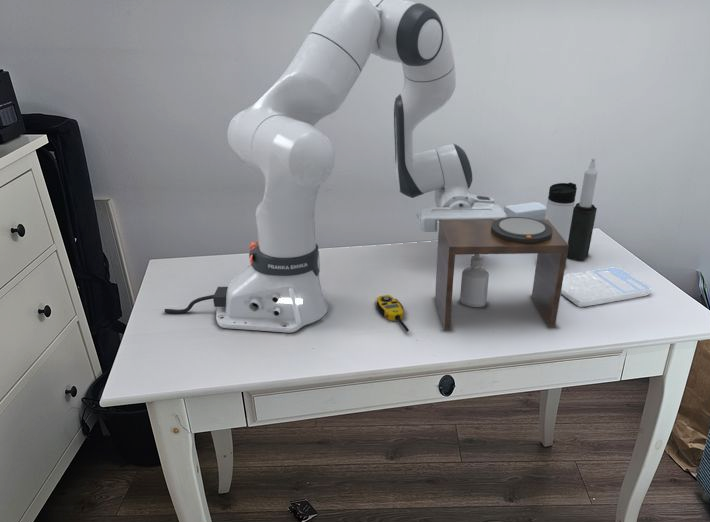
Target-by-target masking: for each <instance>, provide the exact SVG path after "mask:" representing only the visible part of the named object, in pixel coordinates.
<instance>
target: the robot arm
mask: <svg viewBox="0 0 710 522" xmlns="http://www.w3.org/2000/svg"><path fill="white" fill-rule="evenodd" d="M371 54H372V55H374V56H377V57H379V58H380V59H383V60H384V61H385V60H386V61H389V62H393V63H400V64H401V68H402V72H403V86H402V88H401V92H400V94H398V95H397V97H395V99H394V102H393V103H394V104H393V133H394V170H393V171H394V174H393V175H394V182H395V185H396V187H397V189H398V191H399V193H400V194H403V195H404V196H406V197H409V198H411V199H414V198H418V197H419V196H422V195H424V194H427V193H430V192H434V201H435V205H436V206H429V207H423V208H422V209H421V210H420V211H416V217H417V219H419V220H420V221H419V222H420V223H419V228H420V231H422V232H425V233H433V232H434V233H435V232H437V233H438V232H439V220H498V219H501V218H507V215H506V213H505V212H504V208H502V207H501V206H500V205H499V204H498V203H496V200H495V198H493V197H489V196H482V195H476V194H473V193H470V192H469V190H470V188H471V186H472V183H473V171H472V166H471V163H470V160H469V157H468V155H467V154H466V151H465V150H464V149H463V148H462V147H461V146H460V145H457V144H456V143H451V144H450V143H449V144H446V145H442V146H439V147H435V148H432V149H428V150H424V151H420V152H417V153H414V149H413V146H414V145H413V144H414V143H413V134H414V131H415V129H416V127H417V126H419V124H421V122H423V121H425V119H427V118H428V117H429V116H431V115H432V114H435V113H436V112H437V111H439V110H440V109H443V107H444V106H445V105H446V104H447V103H448V102H449V100H450V99H451V98H452V96H453V94H454V92H455V90H456V85H457V75H456V73H457V72H456V65H455V57H454V51H453V46H452V43H451V39H450V36H449V32H448V30H447V26H446V24H445V21H444V20H443V18H442V17H441V15H440V14H439V13H437V12H436V11H435V10H434V9H432V7H429V6H428V5H427V4H424V3H421V2H415V1H412V0H333V1H332V2H331V3H330V4H329V5H328V6H327V7H326V9H325V10H324V11H323V12H322V14H321V15H320V16H319V17H318V19H317V20H316V21H315V23H314V24H313V26H312V28H311V29H310V31H309V32H308V34H307V36H306V37H305V39H304V41H303V43H302V44H301V46H300V47H299V49H298V50H297V52H296V54H295V55H294V57H293V59H292V60H291V62H290V63H289V65H288V67H286V70H285V71H284V72H283V73H282V75H280V77H279V78H278V79H277V80H276V82H274V83H273V84H272V86H270V88H268V90H266V92H265V93H263V94H262V96H261V97H259V99H258V100H256V102H254V103H253V104H252V105H250V106H249V107H247V108H245V109H243V110H242V111H239V112H238V113H236V114H235V115H234V116H233V118H231V120H230V122H229V125H228V128H227V132H226V133H227V135H226V136H227V143H228V146H229V148H230V149H231V152H232V153H234V154H235V156H236V157H237V158H238V159H239V160H240V161H241V162H242V163H243V164H244V165H246V166H247V167H249V168H251V169H253V170H256V171H257V172H259V173H262V175H263V177H264V191H263V197H262V201H260V202H259V203H258V204H257V206H256V208H255V213H254V216H255V223H256V234H257V241H251V243H250V244H249V247H248V250H249V253H248V257H249V265H248V266H247V267H245V268H244V269H243V270H241V271H240V272H239V273H237V274H236V275H234V277H233V278H232V279H231V281H230V282H229V284H228V286H217V288H216V290H215V292H214V293H213V294H209V295H205V296H201V297H198V298H195V299H193V300H192V301H191V302H190V303H189V304H188V305H187V306H186V308H182V309H173V308H164V313H167V314H185V313H187V312H189V311H191V309H192V308H193V307H194V305H196V304H198V303H200V302H203V301H207V300H213V304H214V305H213V307H214V308H216V312H215V320H216V323H217V325H218V326H219V327H220V328H223V329H231V330H246V331H247V330H248V331H262V332H276V333H290V334H291V333H295V332H297V331H298V330H301V328H303V327H305V326H307V325H311V324H313V323H316V322H318V321H319V320H321V319H322V318H323V317H325V315H326V314H327V312H328V309H329V307H328V304H327V301H326V299H325V297H324V292H323V288H322V284H321V283H322V282H321V279H320V278H321V277H320V272H321V262H320V261H321V259H320V250H319V245H318V244H317V239H316V238H317V237H316V218H315V217H316V215H315V214H316V212H315V210H316V203H317V198H318V194H319V191H320V189H321V188H320V187H321V186H322V184H324V183H325V182H327V180H328V179H329V178H330V175H331V174H332V173H333V170H334V167H335V163H336V155H335V148H334V146H333V144H332V142H331V140H330V139H329V138H328V136H326V135H325V134H324V133H323V132H321V131H320V130H319V129H318V128H316V127H315V126H316V125H317V124H318V123H319V122H320V121H322V120H323V119H325V118H326V117H329V116H332V115H333V114H335V113H336V112H337V111H338V110H339V109H341V107H342V105H343V103H344V102H345V100H346V98H347V97H348V95H349V93H350V92H351V90H352V89H353V87H354V85H355V83H357V80H358V78H359V77H360V75H361V73H362V72H363V70H364V68H365V67H366V64H367V62H368V61H369V58H371Z"/></svg>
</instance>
